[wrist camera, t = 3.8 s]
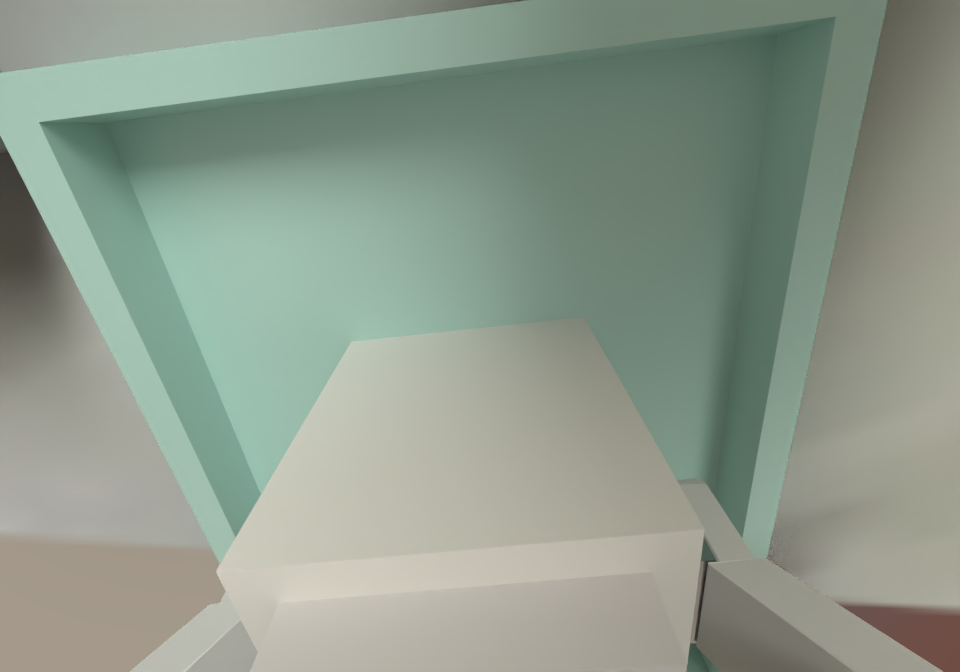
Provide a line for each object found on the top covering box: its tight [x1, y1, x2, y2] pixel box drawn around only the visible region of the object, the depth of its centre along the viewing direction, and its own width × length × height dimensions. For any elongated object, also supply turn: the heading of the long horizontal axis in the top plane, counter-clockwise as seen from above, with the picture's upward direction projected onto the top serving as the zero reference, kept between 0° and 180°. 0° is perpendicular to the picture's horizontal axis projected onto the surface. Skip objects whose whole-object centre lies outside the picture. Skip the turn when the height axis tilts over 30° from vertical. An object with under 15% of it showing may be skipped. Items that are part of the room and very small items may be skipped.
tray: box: [0, 0, 888, 672], centre depth 9 cm, size 12×16×2 cm
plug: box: [216, 317, 705, 672], centre depth 7 cm, size 4×6×6 cm
